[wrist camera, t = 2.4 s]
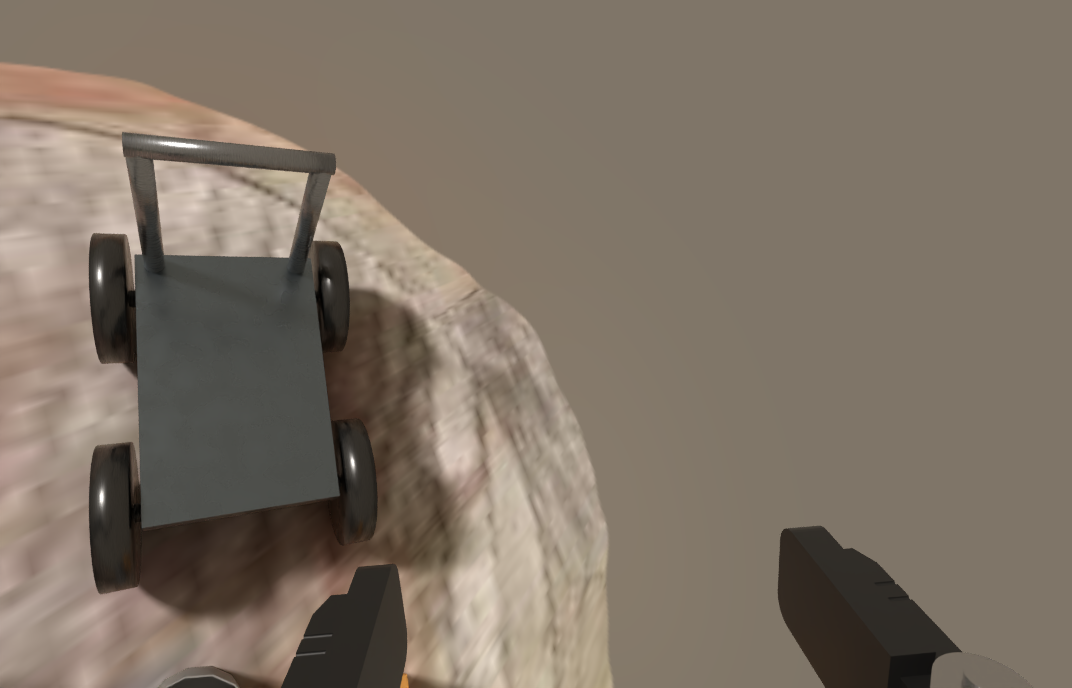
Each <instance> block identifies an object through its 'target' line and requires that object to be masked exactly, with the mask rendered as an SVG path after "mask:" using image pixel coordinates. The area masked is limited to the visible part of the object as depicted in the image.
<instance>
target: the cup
mask: <svg viewBox="0 0 1072 688" xmlns="http://www.w3.org/2000/svg"><path fill="white" fill-rule="evenodd" d="M157 688H240V687H239V685H238V684H237V682H236V681H235V680H234V678H233V677H232V675H231V674H229V673H226V672H224V671H222V670H220V669H217V668H215V667H213V666H205V667H192V668H187V669H185V670H183V671H181V672H179V673H177V674H175V675H173V676H171V677H169V678H167V679H165V680H164V681H163V682H162V683H161V684H160V685H159V686H158V687H157Z"/></svg>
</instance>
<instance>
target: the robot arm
mask: <svg viewBox="0 0 1072 688" xmlns="http://www.w3.org/2000/svg"><path fill="white" fill-rule="evenodd" d="M778 600H779V605H780V610H781V613H782V616H783V619H784V621H785V623H786V625H787V627H788V628H789V630H790V631H791V633H792V635H793V636H794V638H795V639H796V641H797V643H798V644H799V646H800V648H801V649H802V651H803V652H804V654H805V656H806V657H807V659H808V660H809V662H810V664H811V665H812V667H813V668H814V670H815V672H816V673H817V675H818V677H819V678H820V679H821V681H822V683H823V684H824V686H825V688H1033V687H1032V686H1031V685H1030V684H1029V683H1028V681H1027V680H1025V679H1024V678H1023V677H1022V676H1020V675H1019V674H1018V673H1016V672H1015V671H1014V670H1012V669H1010V668H1009V667H1007V666H1005V665H1003V664H1001V663H999V662H997V661H995V660H992V659H990V658H987V657H984V656H980V655H976V654H971V653H963V652H962V651H961V650H960V649H959V648H958V647H957V646H956V645H955V644H954V643H953V642H952V641H951V640H950V639H949V638H948V637H947V636H946V634H945V633H944V632H943V631H942V630H941V629H940V628H939V627H938V626H937V625H936V624H935V623H934V622H933V621H932V620H931V619H930V618H929V617H928V616H927V615H926V614H925V612H924V611H923V610H922V609H921V608H920V607H919V606H918V605H917V604H916V603H915V602H914V601H913V600H910V599H909V596H908V595H907V594H906V593H905V591H904V590H903V589H902V588H901V587H900V586H899V585H898V584H897V585H895V582H894V580H893V579H892V578H891V577H890V576H889V575H888V574H887V573H886V572H885V570H883V568H882V567H881V566H880V565H879V564H878V563H877V562H875V561H873V560H872V559H870V558H868V557H866V556H865V555H863V554H861V553H860V552H858V551H856V550H855V549H853V548H850V549H843V548H842V547H841V546H840V544H838V542H837V541H836V540H835V539H834V538H833V537H832V536H831V534H830V533H829V532H828V531H827V530H826V529H825V528H824V527H822V526H812V527H800V528H788V529H784V530H783V531H782V533H781V537H780V556H779V577H778ZM406 654H407V628H406V620H405V614H404V607H403V600H402V593H401V587H400V580H399V574H398V569H397V566H396V565H395V564H387V565H376V566H364V567H358V568H357V570H356V572H355V575H354V577H353V580H352V583H351V585H350V588H349V591H348V593H347V594H342V595H331V596H330V597H329V598H328V599H327V600H326V601H325V602H324V603H323V604H322V605H321V607H320V608H319V609H318V610H317V611H316V612H315V613H314V614H313V615H312V618H311V620H310V622H309V624H308V627H307V629H306V631H305V634H304V639H303V640H301V643H300V645H299V647H298V650H297V652H296V657H294V659H293V661H292V663H291V666H290V668H289V670H288V673H287V675H286V677H285V679H284V682H283V684H282V686H281V688H400V686H401V681H402V676H403V672H404V667H405V662H406Z"/></svg>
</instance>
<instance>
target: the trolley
mask: <svg viewBox="0 0 1072 688" xmlns="http://www.w3.org/2000/svg"><path fill="white" fill-rule="evenodd" d="M122 144H123V154H124V157H126V163H127V169H128V174H129V180H130V186H131V192H132V198H133V203H134V209H135V215H136V221H137V227H138V232H139V238H140V244H141V250H142V255H135V290H134V282H133V271H132V262H131V254H130V247H129V242H128V238H127V235H126V234H100V233H94V234H93V235H92V237H91V241H90V250H89V291H90V306H91V317H92V326H93V334H94V340H95V346H96V350H97V354H98V358H99V360H100V362H101V363H102V364H108V363H128V362H134V360H135V353H136V330H137V369H138V407H139V446H140V485H141V503H140V492H139V478H138V468H137V460H136V453H135V448H134V445H133V442H126V443H116V444H107V445H97V446H96V447H95V449H94V452H93V457H92V463H91V472H90V487H89V528H90V546H91V557H92V566H93V573H94V578H95V583H96V587H97V590H98V592H99V594H105V593H110V592H115V591H120V590H125V589H130V588H135V587H138V584H139V578H140V566H141V524H142V529H143V531H148V530H154V529H160V528H166V527H172V526H178V525H184V524H190V523H196V522H202V521H208V520H214V519H220V518H226V517H232V516H238V515H244V514H250V513H256V512H262V511H268V510H274V509H280V508H286V507H292V506H298V505H304V504H310V503H317V502H323V501H328V507H329V512H330V517H331V522H332V526H333V529H334V532H335V535H336V538H337V540H338V541H339V543H340V544H341V545H347V544H352V543H357V542H362V541H367V540H370V539H371V538H372V536H373V534H374V531H375V527H376V520H377V482H376V472H375V464H374V458H373V453H372V448H371V444H370V440H369V437H368V434H367V431H366V429H365V426H364V425H363V423H362V422H361V420H360V419H357V418H355V419H346V420H336V421H331V420H330V412H329V403H328V395H327V387H326V379H325V371H324V362H323V354H322V352H340V351H342V350H343V348H344V346H345V343H346V340H347V335H348V327H349V313H350V298H349V282H348V273H347V266H346V261H345V257H344V253H343V250H342V248H341V246H340V244H339V243H338V242H334V241H313V237H314V234H315V230H316V227H317V223H318V220H319V216H320V213H321V209H322V206H323V202H324V199H325V195H326V192H327V188H328V185H329V181H330V178H331V175H334V174H335V170H336V159H335V155H334V154H332V153H322V152H312V151H303V150H293V149H283V148H273V147H264V146H254V145H244V144H234V143H224V142H215V141H205V140H195V139H185V138H175V137H166V136H156V135H146V134H136V133H126V132H122ZM153 160H164V161H175V162H187V163H199V164H210V165H222V166H234V167H245V168H257V169H269V170H280V171H292V172H304V173H309V176H308V180H307V184H306V188H305V193H304V197H303V201H302V205H301V210H300V214H299V218H298V223H297V227H296V231H295V235H294V240H293V244H292V248H291V252H290V257H289V258H273V257H225V256H177V255H164V252H163V243H162V234H161V225H160V216H159V208H158V199H157V190H156V181H155V172H154V164H153ZM135 307H136V315H135Z"/></svg>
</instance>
